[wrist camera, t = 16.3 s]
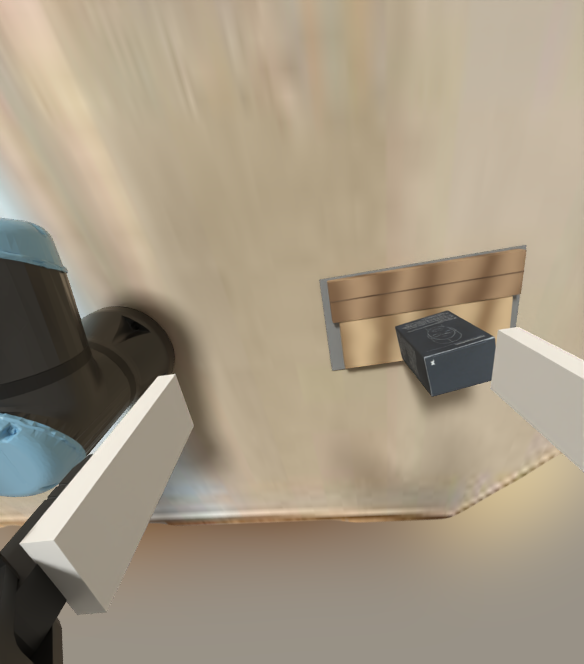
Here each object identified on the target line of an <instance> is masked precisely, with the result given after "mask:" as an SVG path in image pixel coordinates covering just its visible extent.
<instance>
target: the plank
mask: <svg viewBox="0 0 584 664" xmlns="http://www.w3.org/2000/svg"><path fill="white" fill-rule="evenodd" d="M512 301H513V297H512V296H505V297H499V298H492V299H486V300H480V301H473V302H467V303H460V304H454V305H447V306H441V307H434V308H428V309H422V310H415V311H409V312H402V313H396V314H389V315H383V316H376V317H370V318H364V319H357V320H351V321H344V322H339V327H340V335H341V343H342V351H343V359H344V365H345V369H347V368H354V367H361V366H368V365H375V364H383V363H390V362H397V361H404V360H403V359H402V357H401V352H400V347H399V343H398V339H397V335H396V330H395V326H398V325H401V324H404V323H408V322H411V321H414V320H417V319H421V318H424V317H427V316H430V315H434V314H437V313H440V312H443V311H447V310H448V311H450V312H452V313H454V314H455V315H457V316H459V317H461V318H462V319H464V320H466V321H468V322H469V323H471V324H473V325H475V326H476V327H478V328H480V329H482V330H483V331H485V332H487V333H489V334H490V335H492V336H494V337H495V344H496V341H497V333H498V330H500V329H507V328H510V322H511V311H512Z"/></svg>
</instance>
